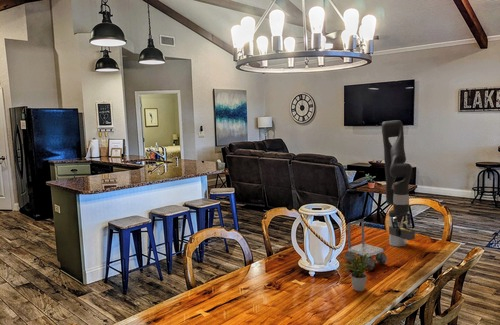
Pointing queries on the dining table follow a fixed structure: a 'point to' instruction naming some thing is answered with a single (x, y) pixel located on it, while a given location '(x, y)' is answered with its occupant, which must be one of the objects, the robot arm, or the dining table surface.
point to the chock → (403, 233)
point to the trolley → (364, 249)
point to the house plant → (358, 272)
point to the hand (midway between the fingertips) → (401, 234)
